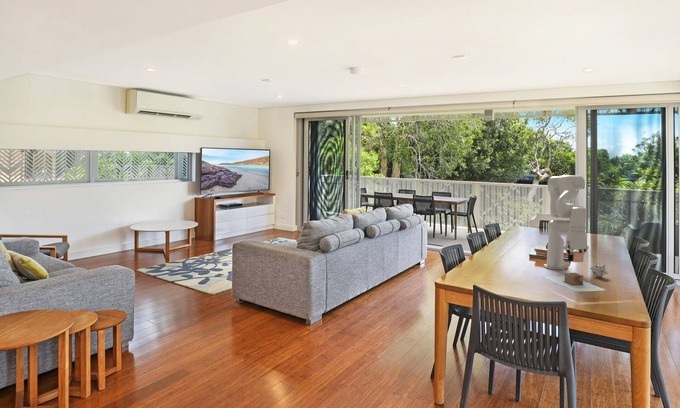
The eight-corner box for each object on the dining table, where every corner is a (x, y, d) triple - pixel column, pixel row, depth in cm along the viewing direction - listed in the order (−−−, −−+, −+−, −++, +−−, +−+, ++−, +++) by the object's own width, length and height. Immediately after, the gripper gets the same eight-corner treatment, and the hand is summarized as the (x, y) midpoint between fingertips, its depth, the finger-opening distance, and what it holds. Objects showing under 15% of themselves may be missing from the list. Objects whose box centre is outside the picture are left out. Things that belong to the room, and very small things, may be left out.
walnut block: (574, 281, 241) (575, 272, 241) (582, 284, 235) (583, 275, 234) (564, 281, 240) (564, 272, 240) (572, 284, 234) (572, 276, 233)
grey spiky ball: (595, 282, 257) (590, 266, 262) (610, 279, 252) (606, 264, 257) (591, 277, 251) (587, 262, 256) (607, 274, 246) (602, 259, 251)
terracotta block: (576, 259, 239) (576, 251, 239) (583, 262, 234) (583, 253, 233) (567, 259, 238) (568, 251, 238) (574, 262, 233) (574, 253, 232)
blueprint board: (570, 277, 253) (570, 275, 253) (606, 292, 225) (606, 289, 225) (543, 278, 250) (543, 276, 250) (576, 293, 222) (576, 291, 222)
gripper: (586, 228, 239) (584, 259, 241) (559, 228, 236) (556, 259, 238) (596, 230, 232) (593, 262, 234) (568, 230, 229) (566, 262, 231)
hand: (575, 260), depth 236 cm, fingers closed on terracotta block, 5 cm apart
